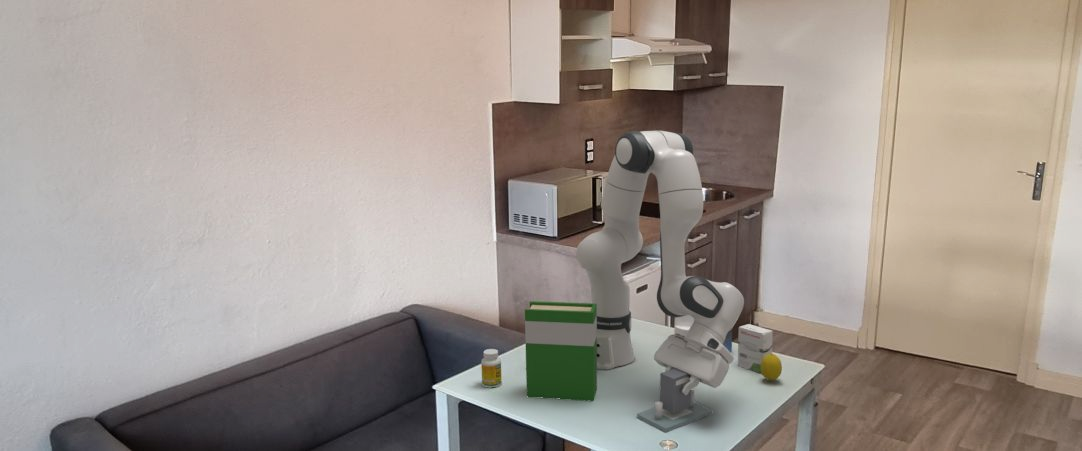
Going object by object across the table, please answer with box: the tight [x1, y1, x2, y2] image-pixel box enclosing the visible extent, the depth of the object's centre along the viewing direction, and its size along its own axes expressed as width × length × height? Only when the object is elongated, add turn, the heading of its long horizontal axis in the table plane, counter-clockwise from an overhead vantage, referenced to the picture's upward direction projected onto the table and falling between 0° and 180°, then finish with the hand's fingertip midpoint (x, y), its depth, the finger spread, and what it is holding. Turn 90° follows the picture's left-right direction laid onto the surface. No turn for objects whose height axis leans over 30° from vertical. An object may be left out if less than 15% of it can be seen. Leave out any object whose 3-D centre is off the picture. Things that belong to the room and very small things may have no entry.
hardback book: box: [524, 300, 598, 402], centre depth 209 cm, size 18×7×24 cm, turn 80°
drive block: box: [659, 368, 692, 414], centre depth 195 cm, size 6×5×9 cm
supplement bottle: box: [480, 348, 503, 388], centre depth 217 cm, size 5×5×10 cm
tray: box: [636, 389, 713, 433], centre depth 196 cm, size 16×10×5 cm, turn 126°
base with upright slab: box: [673, 315, 694, 337], centre depth 244 cm, size 9×9×12 cm
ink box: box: [737, 323, 774, 374], centre depth 225 cm, size 9×5×12 cm, turn 39°
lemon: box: [760, 352, 783, 382], centre depth 215 cm, size 6×6×8 cm
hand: (673, 389), depth 195 cm, fingers closed on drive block, 4 cm apart
